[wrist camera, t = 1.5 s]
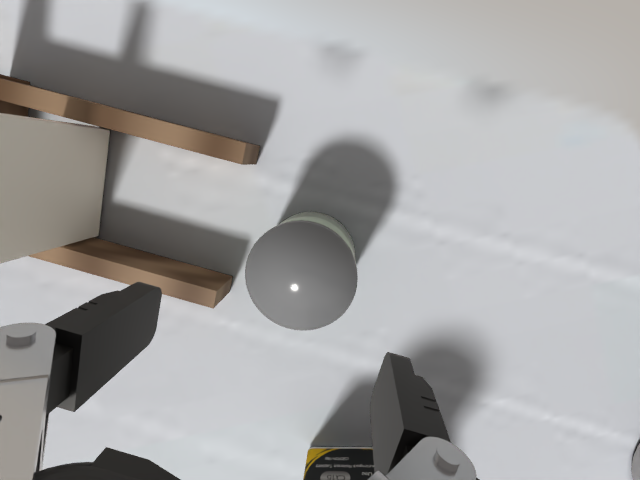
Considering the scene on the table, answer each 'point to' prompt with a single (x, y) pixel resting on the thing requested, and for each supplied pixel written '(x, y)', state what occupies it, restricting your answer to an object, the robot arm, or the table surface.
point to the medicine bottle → (339, 463)
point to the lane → (113, 257)
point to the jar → (303, 271)
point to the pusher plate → (49, 184)
